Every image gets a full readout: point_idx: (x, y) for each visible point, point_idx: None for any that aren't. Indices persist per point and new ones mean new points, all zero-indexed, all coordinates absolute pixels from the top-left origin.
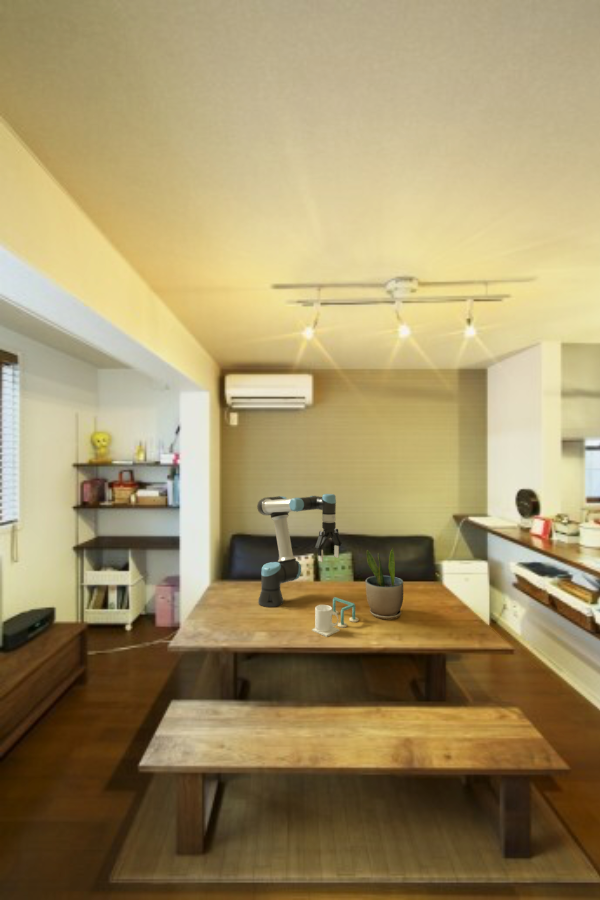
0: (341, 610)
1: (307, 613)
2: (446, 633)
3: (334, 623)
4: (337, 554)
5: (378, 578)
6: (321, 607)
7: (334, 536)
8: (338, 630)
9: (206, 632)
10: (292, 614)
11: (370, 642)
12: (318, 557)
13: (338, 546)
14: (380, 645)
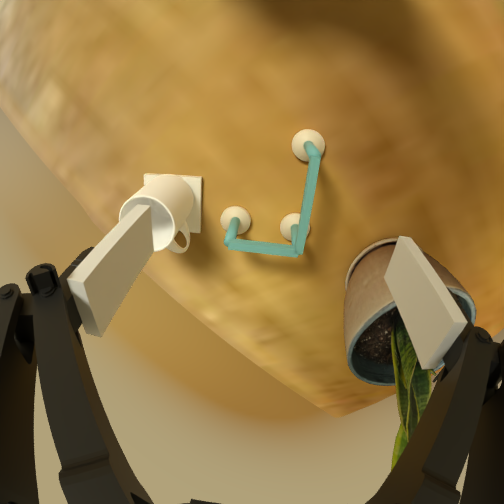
0: (227, 239)
1: (241, 70)
2: (341, 379)
3: (184, 231)
4: (394, 293)
5: (399, 351)
6: (162, 199)
7: None
8: (196, 231)
9: (3, 30)
10: (196, 40)
11: (205, 310)
12: (120, 221)
13: (429, 365)
14: (209, 327)
